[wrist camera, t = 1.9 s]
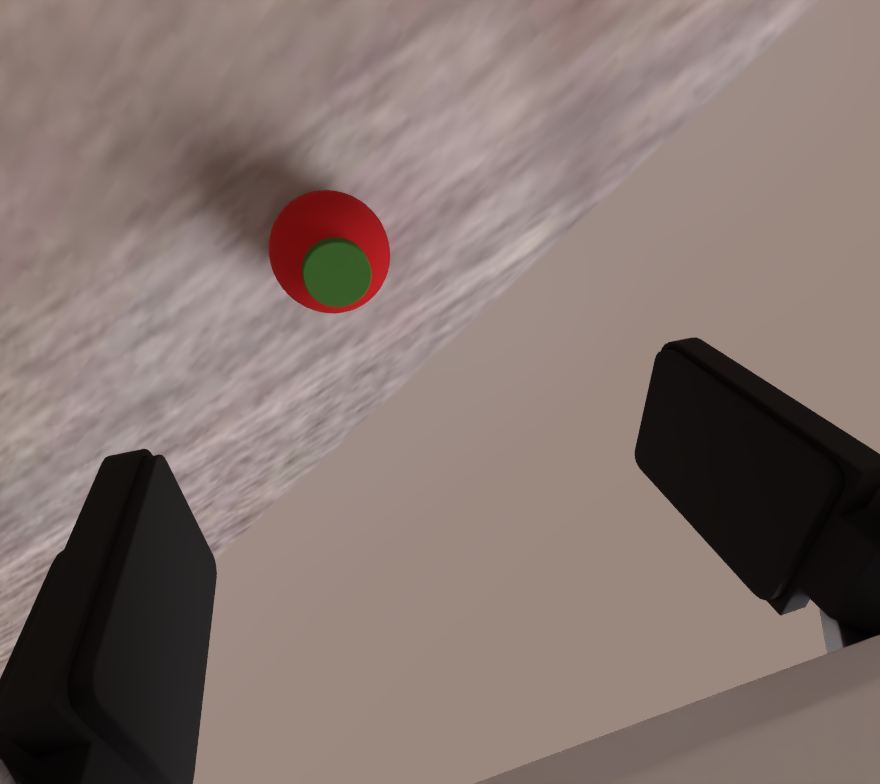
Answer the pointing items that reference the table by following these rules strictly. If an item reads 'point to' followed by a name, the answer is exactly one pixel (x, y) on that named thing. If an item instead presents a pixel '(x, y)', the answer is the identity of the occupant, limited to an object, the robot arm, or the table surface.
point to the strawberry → (329, 251)
